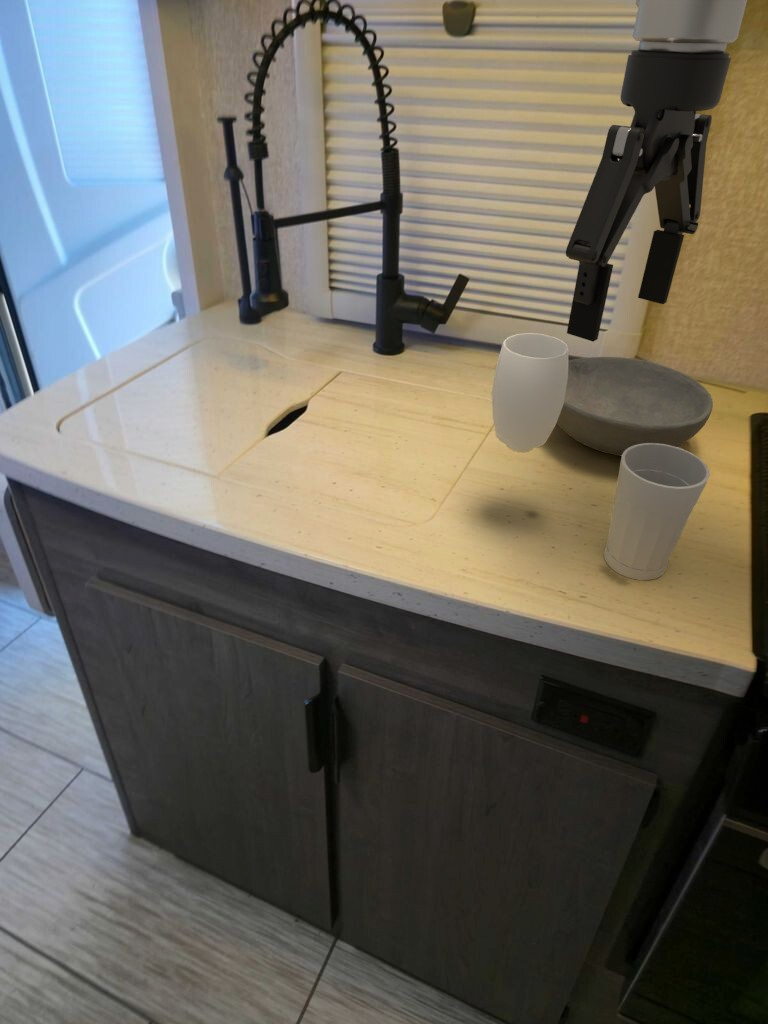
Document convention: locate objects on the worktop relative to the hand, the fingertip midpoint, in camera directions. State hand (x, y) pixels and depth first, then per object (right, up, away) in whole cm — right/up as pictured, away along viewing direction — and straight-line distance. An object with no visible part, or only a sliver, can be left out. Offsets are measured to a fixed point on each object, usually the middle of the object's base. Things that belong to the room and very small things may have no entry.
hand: (618, 317), depth 64 cm
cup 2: (+4, -24, +7) cm, 25 cm away
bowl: (+9, -9, +27) cm, 30 cm away
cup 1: (-8, -19, +13) cm, 24 cm away
